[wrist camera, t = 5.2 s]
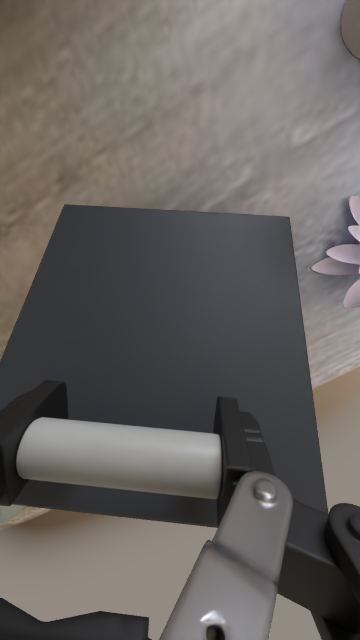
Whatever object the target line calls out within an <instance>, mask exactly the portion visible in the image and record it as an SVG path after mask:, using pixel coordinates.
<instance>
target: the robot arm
mask: <svg viewBox="0 0 360 640" xmlns="http://www.w3.org/2000/svg"><path fill="white" fill-rule="evenodd" d="M41 417H46V418H56V419H67V420H68V399H67V386H66V383H65V382H62V381H51V380H44V381H43V382H42V383H41V384H39V385H38V386H37V387H36V388H35V389H34V390H33V391H29V392H27V393H25V394H23V395H20V396H18V397H16V398H15V399H14V400H13V401H11V402H10V403H9V404H8V405H7V406H6V408H3V409H2V410H1V411H0V505H1V506H9V507H10V506H11V505H12V503H13V502H14V501H15V499H16V498H17V496H18V495H19V494H20V492H21V491H22V489H23V488H24V487H25V485H26V484H27V482H28V481H29V480H30V479H23V478H22V477H20V476H19V475H18V473H17V469H16V457H17V452H18V448H19V444H20V442H21V439H22V437H23V435H24V433H25V431H26V430H27V428H28V427H29V426H30V424H31V423H32V422H33V421H35V420H36V419H38V418H41ZM213 434H218V435H220V438H221V443H222V482H221V491H220V495H219V498H218V499H216V504H217V520H218V530H217V532H216V534H215V536H214V538H213V540H212V541H210V540H208V541H207V542H206V543H205V544H204V546H203V548H202V550H201V552H200V554H199V556H198V558H197V560H196V562H195V565H194V567H193V569H192V571H191V573H190V575H189V577H188V579H187V582H186V584H185V586H184V588H183V590H182V592H181V594H180V596H179V598H178V600H177V602H176V605H175V607H174V609H173V611H172V613H171V615H170V617H169V620H168V622H167V624H166V626H165V628H164V630H163V632H162V634H161V637H160V639H159V640H268V639H269V633H270V628H271V623H272V617H273V612H274V607H275V602H276V596H277V593H278V594H280V595H282V596H284V597H285V598H287V599H289V600H291V601H293V602H295V603H297V604H299V605H301V606H303V607H305V608H307V609H308V610H310V611H311V614H312V616H313V619H314V621H315V624H316V626H317V629H318V631H319V634H320V636H321V639H322V640H360V507H359V506H356V505H353V504H348V503H340V504H336V505H334V506H333V507H332V508H331V509H330V512H329V514H328V513H325V512H323V511H320V510H317V509H315V508H312V507H310V506H307V505H305V504H303V503H301V502H299V501H297V500H296V499H294V498H293V497H292V495H291V493H290V491H289V489H288V488H287V486H286V485H285V484H284V483H283V482H282V481H281V480H279V479H278V478H277V477H276V474H275V471H274V468H273V465H272V462H271V459H270V456H269V453H268V450H267V447H266V444H265V443H264V438H263V435H262V431H261V428H260V425H259V422H258V421H257V420H256V419H255V417H254V416H253V415H252V414H251V413H250V412H240V410H239V406H238V401H237V398H232V397H221V396H218V397H217V402H216V410H215V419H214V428H213ZM148 628H149V618H148V617H141V616H133V615H126V614H118V613H110V612H103V611H98V612H94V613H89V614H84V615H79V616H75V617H69V618H64V619H60V620H55V621H50V622H43V621H40V620H38V619H36V618H34V617H33V616H31V615H29V614H28V613H26V612H24V611H23V610H21V609H19V608H18V607H16V606H14V605H12V604H11V603H9V602H8V601H6V600H4V599H3V598H0V640H151V639H150V638H148Z"/></svg>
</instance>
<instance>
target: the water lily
mask: <svg viewBox="0 0 360 640" xmlns="http://www.w3.org/2000/svg"><path fill="white" fill-rule="evenodd" d="M349 205H350V210H351V213H352V215H353V217H354V219H355V221H356V222H357V224H358V225H359V226H349V227H348V230H349V231H350V233H351V234H352V235H353V237H354V238H355V239H356V240H357V241H358V242H359V243H360V196H351V197H350V200H349ZM326 254H327V255H328V256H330V257H328V258H325V259H323V260H321V261H319V262H317V263H316V264H314V265H313V266H312V267H311V269H312V270H313V271H315V272H318V273H321V274H327V275H357V274H360V245H357V244H345V245H339V246H335V247H333V248H330V249H329V250H327V251H326ZM343 306H344V308H354V307H357V306H360V279H358V280H357V281H356V282H355V283H354V284H353V285H352V286H351V287H350V288H349V290H348V291H347V293H346V295H345V298H344V302H343Z"/></svg>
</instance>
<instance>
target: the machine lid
mask: <svg viewBox="0 0 360 640" xmlns="http://www.w3.org/2000/svg"><path fill="white" fill-rule="evenodd" d="M44 380H51V381H62V382H65V383H66V386H67V399H68V420H67V419H56V418H46V417H41V418H38V419H36V420H35V421H33V422H32V423H31V424H30V426H29V427H28V428H27V430H26V431H25V433H24V435H23V437H22V439H21V442H20V444H19V448H18V452H17V457H16V469H17V473H18V475H19V476H20V477H22V478H23V479H30V480H29V481H28V482H27V484H26V485H25V487H24V488H23V489H22V491H21V492H20V494H19V495H18V496H17V498H16V499H15V501H14V502H13V503H12V505H21V506H30V507H38V508H47V509H56V510H66V511H74V512H83V513H92V514H101V515H110V516H118V517H127V518H136V519H145V520H154V521H164V522H171V523H181V524H190V525H198V526H207V527H216V528H218V520H217V504H216V499H218V498H219V495H220V491H221V482H222V443H221V438H220V435H218V434H213V428H214V419H215V410H216V402H217V397H218V396H221V397H232V398H237V401H238V406H239V410H240V412H250V413H251V414H252V415H253V416H254V417H255V419H256V420H257V421H258V422H259V425H260V428H261V431H262V435H263V438H264V443H265V444H266V447H267V450H268V453H269V456H270V459H271V462H272V465H273V468H274V471H275V474H276V477H277V478H278V479H279V480H281V481H282V482H283V483H284V484H285V485H286V486H287V488H288V489H289V491H290V493H291V495H292V497H293V498H294V499H296V500H297V501H299V502H301V503H303V504H305V505H307V506H310V507H312V508H315V509H317V510H320V511H323V512H325V513H328V508H327V500H326V492H325V485H324V477H323V469H322V462H321V455H320V447H319V439H318V431H317V425H316V416H315V409H314V401H313V393H312V386H311V378H310V370H309V363H308V355H307V348H306V340H305V332H304V325H303V317H302V309H301V302H300V294H299V287H298V279H297V271H296V264H295V256H294V249H293V241H292V233H291V226H290V218H289V217H283V216H265V215H247V214H229V213H211V212H193V211H175V210H157V209H138V208H120V207H102V206H84V205H66V204H65V205H64V207H63V209H62V212H61V214H60V216H59V219H58V221H57V224H56V226H55V229H54V231H53V234H52V236H51V238H50V241H49V243H48V246H47V248H46V251H45V253H44V256H43V258H42V261H41V263H40V265H39V268H38V270H37V273H36V275H35V278H34V280H33V283H32V285H31V287H30V290H29V292H28V295H27V297H26V300H25V302H24V305H23V307H22V309H21V312H20V314H19V317H18V319H17V322H16V324H15V327H14V329H13V332H12V334H11V336H10V339H9V341H8V344H7V346H6V349H5V351H4V354H3V356H2V358H1V361H0V411H1V410H2V409H3V408H6V406H7V405H8V404H9V403H10V402H11V401H13V400H14V399H15V398H16V397H18V396H20V395H23V394H25V393H27V392H29V391H33V390H34V389H35V388H36V387H37V386H38V385H39V384H41V383H42V382H43V381H44Z"/></svg>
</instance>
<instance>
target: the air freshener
mask: <svg viewBox="0 0 360 640" xmlns="http://www.w3.org/2000/svg"><path fill="white" fill-rule="evenodd" d="M25 507H26V506H21V505H11V506H10V507H9V506H1V505H0V525H1V524H3V523H5V522H7V521H8V520H10V519H11V518H13V517H14V516H15V515H17V514H18V513H19V512H20V511H21V510H23V509H24V508H25Z"/></svg>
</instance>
